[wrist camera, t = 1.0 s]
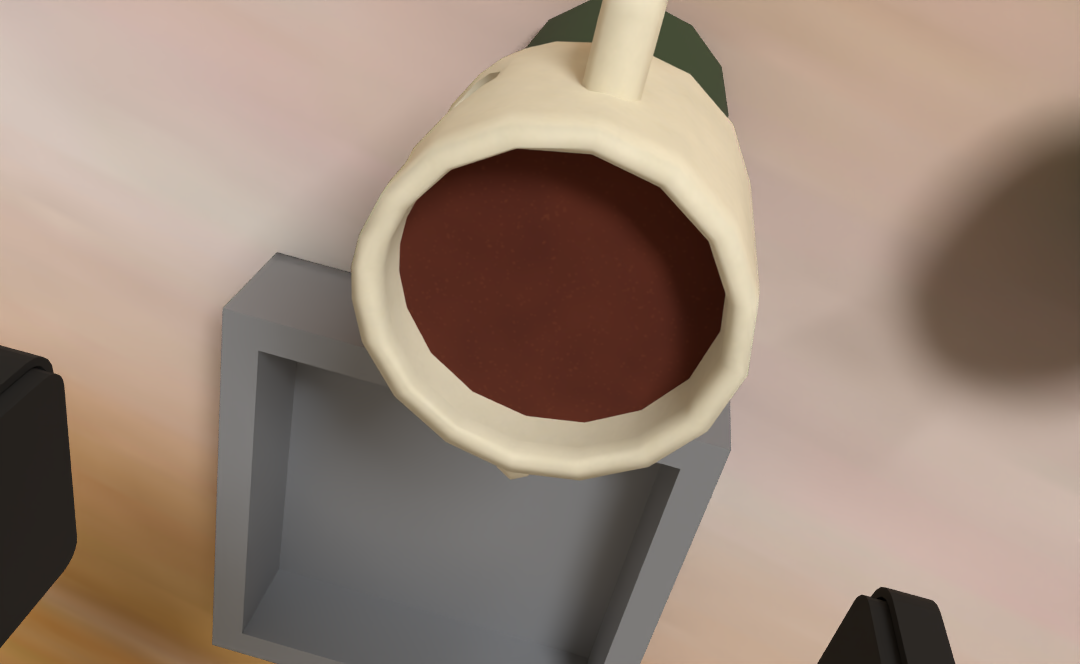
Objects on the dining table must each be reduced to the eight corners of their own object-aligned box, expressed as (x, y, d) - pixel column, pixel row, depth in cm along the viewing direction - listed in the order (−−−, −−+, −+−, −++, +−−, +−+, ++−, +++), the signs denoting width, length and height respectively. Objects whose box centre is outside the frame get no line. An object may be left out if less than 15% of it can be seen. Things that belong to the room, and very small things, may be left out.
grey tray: (729, 377, 31) (730, 450, 27) (610, 674, 39) (599, 757, 36) (277, 252, 31) (222, 308, 28) (255, 571, 39) (212, 644, 36)
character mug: (540, -129, 24) (385, -67, 13) (804, -61, 24) (879, 62, 13) (470, 236, 30) (321, 497, 18) (681, 294, 29) (659, 593, 18)
